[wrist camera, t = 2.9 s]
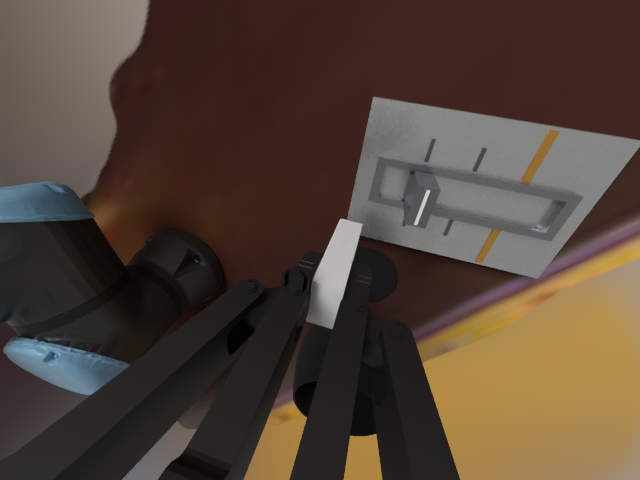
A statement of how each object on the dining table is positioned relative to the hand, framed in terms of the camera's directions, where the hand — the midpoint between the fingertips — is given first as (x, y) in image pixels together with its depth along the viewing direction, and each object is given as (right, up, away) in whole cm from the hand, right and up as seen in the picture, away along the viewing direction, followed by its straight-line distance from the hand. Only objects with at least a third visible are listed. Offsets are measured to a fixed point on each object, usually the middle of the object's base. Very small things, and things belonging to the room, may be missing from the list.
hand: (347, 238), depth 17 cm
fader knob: (+9, +6, +12) cm, 16 cm away
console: (+15, +6, +13) cm, 20 cm away
